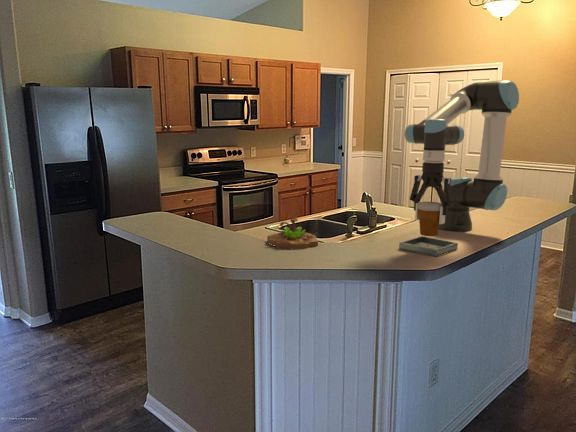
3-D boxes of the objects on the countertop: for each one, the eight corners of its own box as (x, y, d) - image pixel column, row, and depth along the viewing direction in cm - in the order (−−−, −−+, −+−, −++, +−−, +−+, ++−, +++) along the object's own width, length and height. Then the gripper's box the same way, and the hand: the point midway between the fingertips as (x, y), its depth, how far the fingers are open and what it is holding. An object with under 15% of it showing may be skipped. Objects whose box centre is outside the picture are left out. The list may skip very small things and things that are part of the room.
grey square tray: (421, 241, 194) (421, 235, 194) (457, 249, 183) (457, 242, 182) (399, 248, 184) (399, 242, 183) (436, 257, 172) (436, 250, 172)
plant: (277, 251, 181) (277, 222, 179) (262, 239, 199) (262, 213, 197) (325, 247, 188) (326, 219, 185) (307, 235, 206) (307, 210, 203)
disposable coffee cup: (441, 232, 185) (443, 201, 183) (442, 238, 176) (444, 206, 174) (416, 231, 188) (417, 200, 185) (415, 236, 179) (417, 204, 176)
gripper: (401, 160, 182) (399, 218, 186) (456, 164, 166) (451, 227, 171) (412, 159, 187) (409, 216, 191) (466, 163, 171) (462, 224, 176)
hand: (429, 221), depth 181 cm, fingers closed on disposable coffee cup, 9 cm apart
